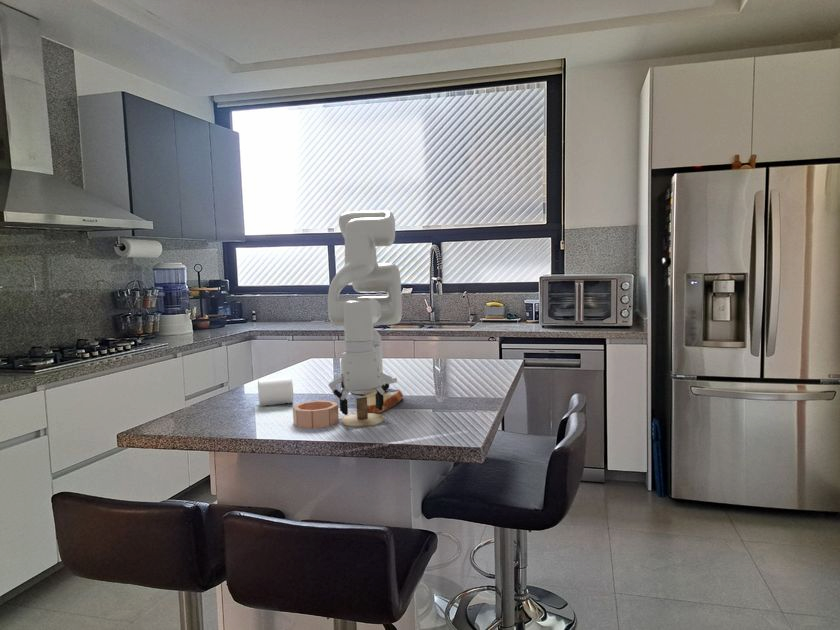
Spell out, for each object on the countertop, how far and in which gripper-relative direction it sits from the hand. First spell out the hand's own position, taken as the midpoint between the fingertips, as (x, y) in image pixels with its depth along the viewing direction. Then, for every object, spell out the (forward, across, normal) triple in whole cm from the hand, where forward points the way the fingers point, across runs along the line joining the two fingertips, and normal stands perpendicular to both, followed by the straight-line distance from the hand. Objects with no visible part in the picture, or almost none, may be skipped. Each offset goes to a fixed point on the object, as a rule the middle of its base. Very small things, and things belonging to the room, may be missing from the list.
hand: (362, 411), depth 153 cm
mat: (+3, 0, 0) cm, 3 cm away
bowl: (+3, +11, -6) cm, 13 cm away
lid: (+3, 0, 0) cm, 3 cm away
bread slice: (+3, -11, -15) cm, 19 cm away
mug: (+4, +16, -38) cm, 41 cm away
